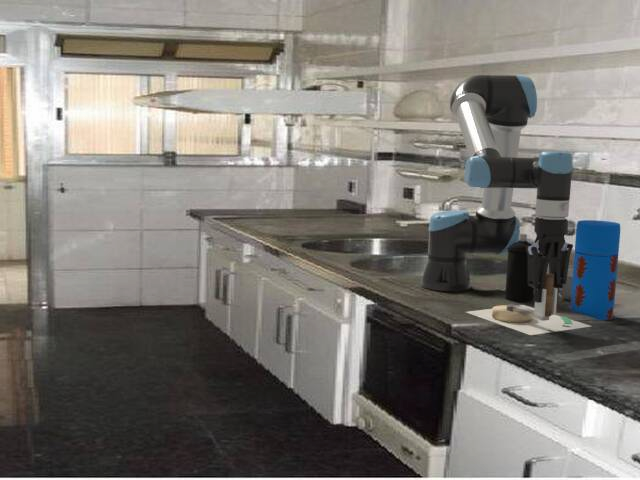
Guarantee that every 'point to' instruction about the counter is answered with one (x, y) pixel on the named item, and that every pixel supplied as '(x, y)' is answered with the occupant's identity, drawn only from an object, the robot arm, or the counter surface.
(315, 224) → the counter surface
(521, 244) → the aerosol can
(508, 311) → the crank
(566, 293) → the teacup
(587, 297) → the thermos
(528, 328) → the scale board
